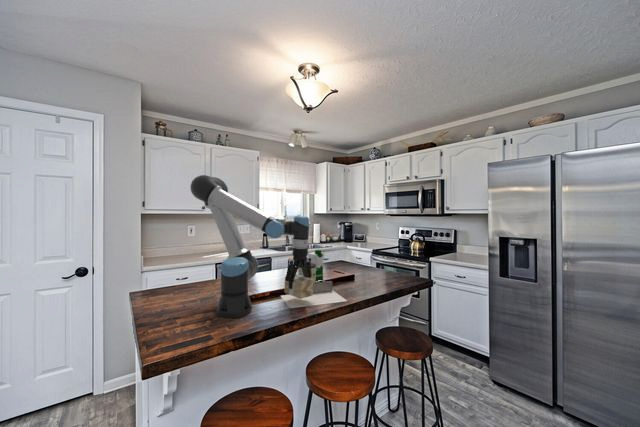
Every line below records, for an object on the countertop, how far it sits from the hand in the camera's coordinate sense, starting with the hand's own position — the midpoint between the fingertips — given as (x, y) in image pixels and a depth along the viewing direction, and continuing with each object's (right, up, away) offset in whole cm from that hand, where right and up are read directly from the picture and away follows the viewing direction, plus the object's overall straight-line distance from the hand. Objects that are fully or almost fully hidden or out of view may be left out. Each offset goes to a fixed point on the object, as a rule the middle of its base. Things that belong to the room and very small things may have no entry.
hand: (298, 293), depth 136 cm
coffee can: (+3, -4, +24) cm, 24 cm away
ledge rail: (+8, -4, +14) cm, 17 cm away
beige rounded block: (0, 0, 0) cm, 0 cm away
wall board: (+7, -5, +5) cm, 10 cm away
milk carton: (+8, -4, +40) cm, 41 cm away
